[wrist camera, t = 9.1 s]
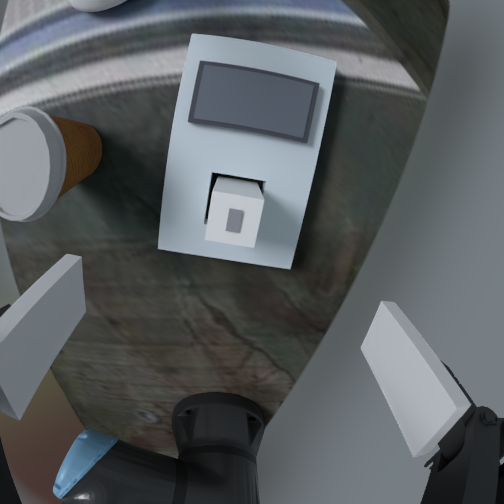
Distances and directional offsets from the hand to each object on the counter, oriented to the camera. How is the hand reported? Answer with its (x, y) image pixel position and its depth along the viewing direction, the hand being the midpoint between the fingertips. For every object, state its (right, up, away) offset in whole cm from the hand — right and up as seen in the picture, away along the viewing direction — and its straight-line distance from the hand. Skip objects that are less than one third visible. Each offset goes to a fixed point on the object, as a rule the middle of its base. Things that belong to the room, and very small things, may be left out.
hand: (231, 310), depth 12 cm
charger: (-1, +8, +19) cm, 20 cm away
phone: (+1, +16, +13) cm, 21 cm away
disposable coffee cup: (-18, +13, +16) cm, 27 cm away
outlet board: (0, +12, +17) cm, 21 cm away
